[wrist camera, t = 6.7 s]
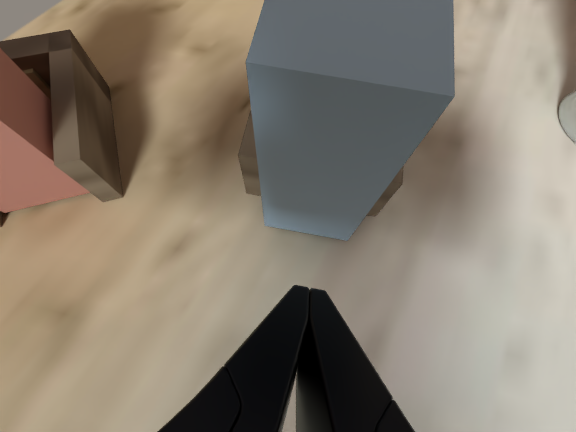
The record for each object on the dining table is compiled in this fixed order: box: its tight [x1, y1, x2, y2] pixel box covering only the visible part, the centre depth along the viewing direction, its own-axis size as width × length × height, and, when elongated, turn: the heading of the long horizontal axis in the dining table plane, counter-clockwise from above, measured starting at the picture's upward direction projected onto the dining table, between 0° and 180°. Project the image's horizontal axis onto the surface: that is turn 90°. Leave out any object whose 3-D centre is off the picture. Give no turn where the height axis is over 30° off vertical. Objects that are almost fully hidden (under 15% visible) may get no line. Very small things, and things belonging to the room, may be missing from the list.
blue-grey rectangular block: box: [246, 0, 455, 241], centre depth 14 cm, size 4×5×12 cm
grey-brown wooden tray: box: [0, 30, 123, 227], centre depth 18 cm, size 9×8×4 cm
